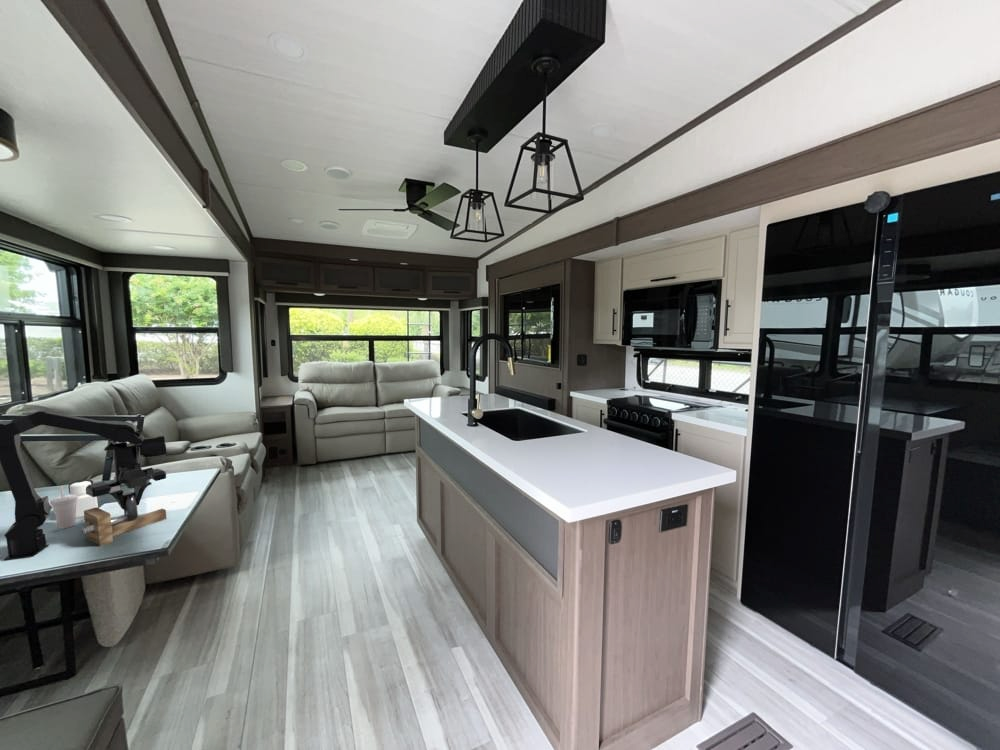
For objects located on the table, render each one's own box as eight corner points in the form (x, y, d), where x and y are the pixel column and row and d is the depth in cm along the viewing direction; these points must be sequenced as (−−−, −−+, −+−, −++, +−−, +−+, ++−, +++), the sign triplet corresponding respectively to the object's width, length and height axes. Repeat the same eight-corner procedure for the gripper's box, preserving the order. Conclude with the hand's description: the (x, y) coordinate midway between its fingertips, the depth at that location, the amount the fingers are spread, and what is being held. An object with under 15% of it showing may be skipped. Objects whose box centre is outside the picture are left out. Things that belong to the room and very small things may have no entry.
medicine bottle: (70, 513, 144) (66, 481, 143) (98, 507, 149) (94, 476, 148) (68, 520, 139) (65, 486, 138) (97, 513, 144) (94, 481, 143)
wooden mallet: (100, 545, 122) (97, 517, 121) (86, 538, 127) (83, 510, 126) (172, 521, 138) (169, 495, 137) (157, 515, 143) (155, 490, 142)
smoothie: (47, 531, 131) (42, 490, 129) (62, 522, 137) (58, 483, 135) (71, 529, 132) (67, 488, 131) (85, 520, 139) (81, 481, 137)
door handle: (85, 535, 121) (82, 508, 121) (81, 532, 123) (78, 506, 122) (139, 517, 133) (137, 493, 132) (135, 515, 135) (133, 491, 134)
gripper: (98, 473, 118) (103, 524, 120) (172, 456, 135) (176, 501, 136) (82, 467, 124) (87, 516, 125) (156, 452, 140) (160, 495, 142)
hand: (130, 507), depth 132 cm, fingers closed on door handle, 3 cm apart
